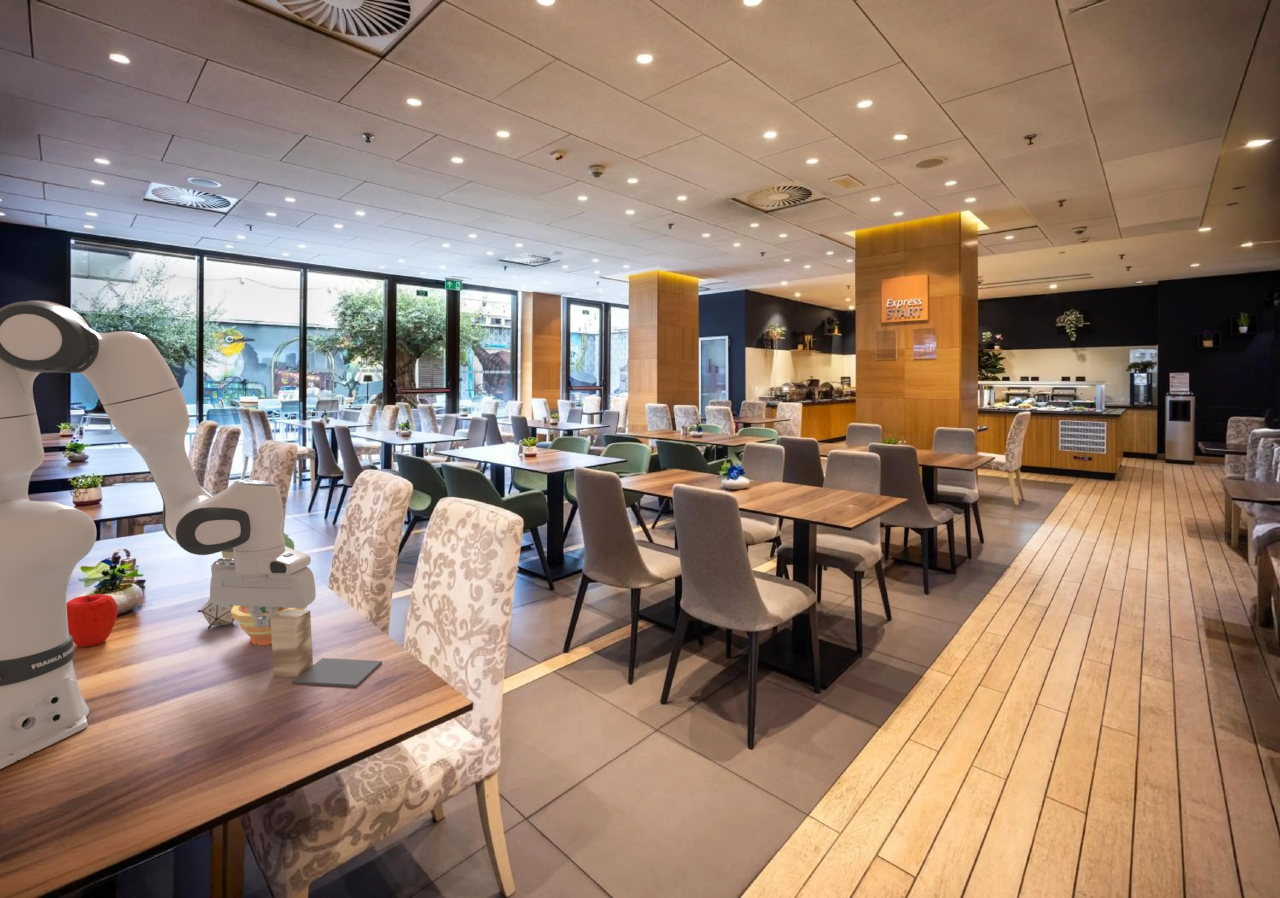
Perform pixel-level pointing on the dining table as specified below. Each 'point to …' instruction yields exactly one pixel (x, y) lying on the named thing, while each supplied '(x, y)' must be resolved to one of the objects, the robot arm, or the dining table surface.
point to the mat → (337, 672)
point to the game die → (217, 614)
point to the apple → (91, 619)
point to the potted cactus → (248, 622)
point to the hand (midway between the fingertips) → (264, 626)
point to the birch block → (291, 643)
